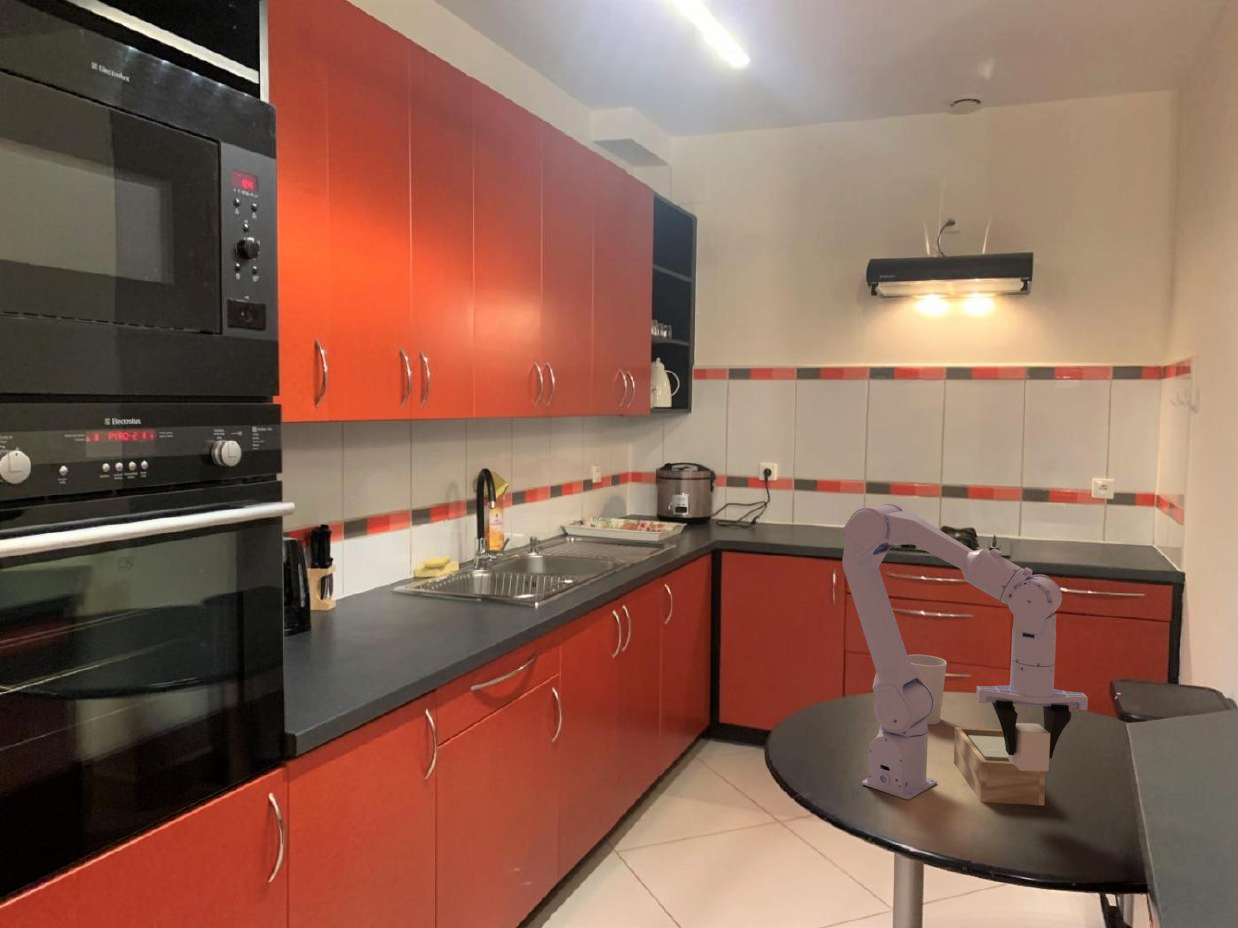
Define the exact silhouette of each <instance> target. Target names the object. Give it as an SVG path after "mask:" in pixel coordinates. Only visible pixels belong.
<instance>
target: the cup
mask: <svg viewBox="0 0 1238 928" xmlns="http://www.w3.org/2000/svg"><path fill="white" fill-rule="evenodd" d="M907 656H908V659H909V662H910V663H911V664H912V665H913V666H914V667H915V668H916V669H918V670H919V672H920V674H921V677H922V680H923V681H924V683H925V684H926V685H927V686H928V687H929V689H930V690H931V691H932V693H933V696H934V700H935V705H934V709H933V711H932V713H931V714H930V715H929V716H927V719H926V722H927V725H928V724H934V725H938V724H940V722H941V714H942V706H943V696H944V688H945V687H944V686H945V679H946V672H947V665H948V663H947V661H946V660H945V659H943V658H941V657H937V656H932V655H927V654H926V655H925V654H909V655H908V654H907ZM937 723H938V724H937ZM928 726H929V725H928Z"/></svg>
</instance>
